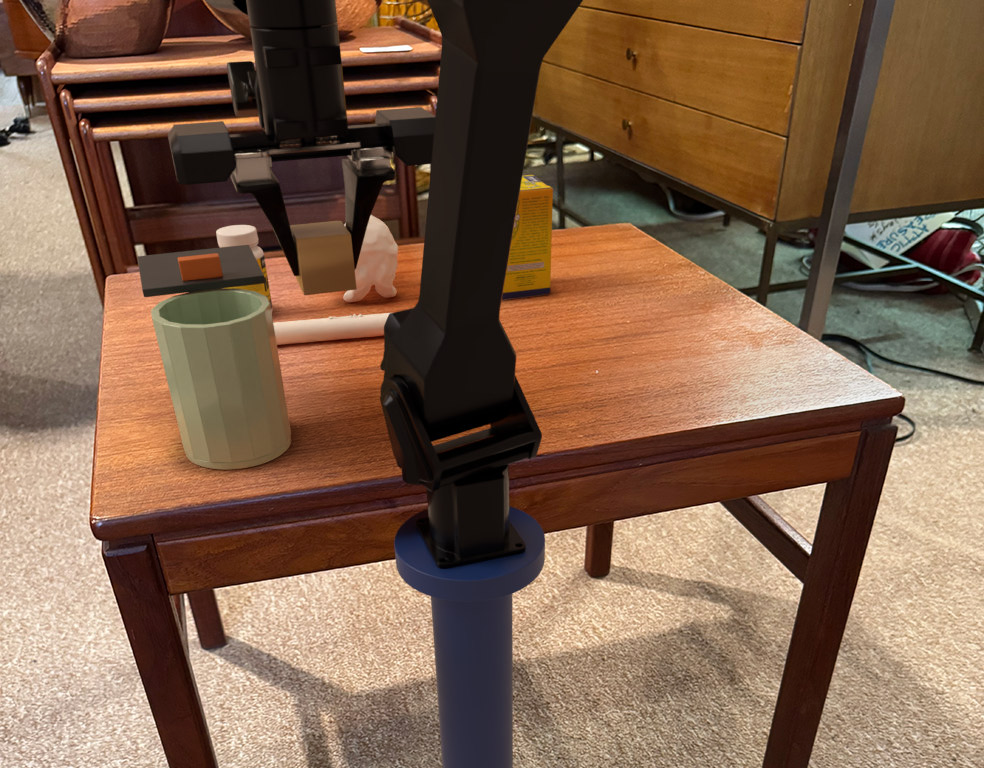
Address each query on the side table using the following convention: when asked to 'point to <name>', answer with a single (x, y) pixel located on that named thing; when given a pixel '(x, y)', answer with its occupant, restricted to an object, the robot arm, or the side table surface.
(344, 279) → the block
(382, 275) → the penguin figurine
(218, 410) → the tumbler
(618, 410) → the side table surface
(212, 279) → the slider
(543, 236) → the supplement box
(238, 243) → the supplement bottle
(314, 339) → the white rod
